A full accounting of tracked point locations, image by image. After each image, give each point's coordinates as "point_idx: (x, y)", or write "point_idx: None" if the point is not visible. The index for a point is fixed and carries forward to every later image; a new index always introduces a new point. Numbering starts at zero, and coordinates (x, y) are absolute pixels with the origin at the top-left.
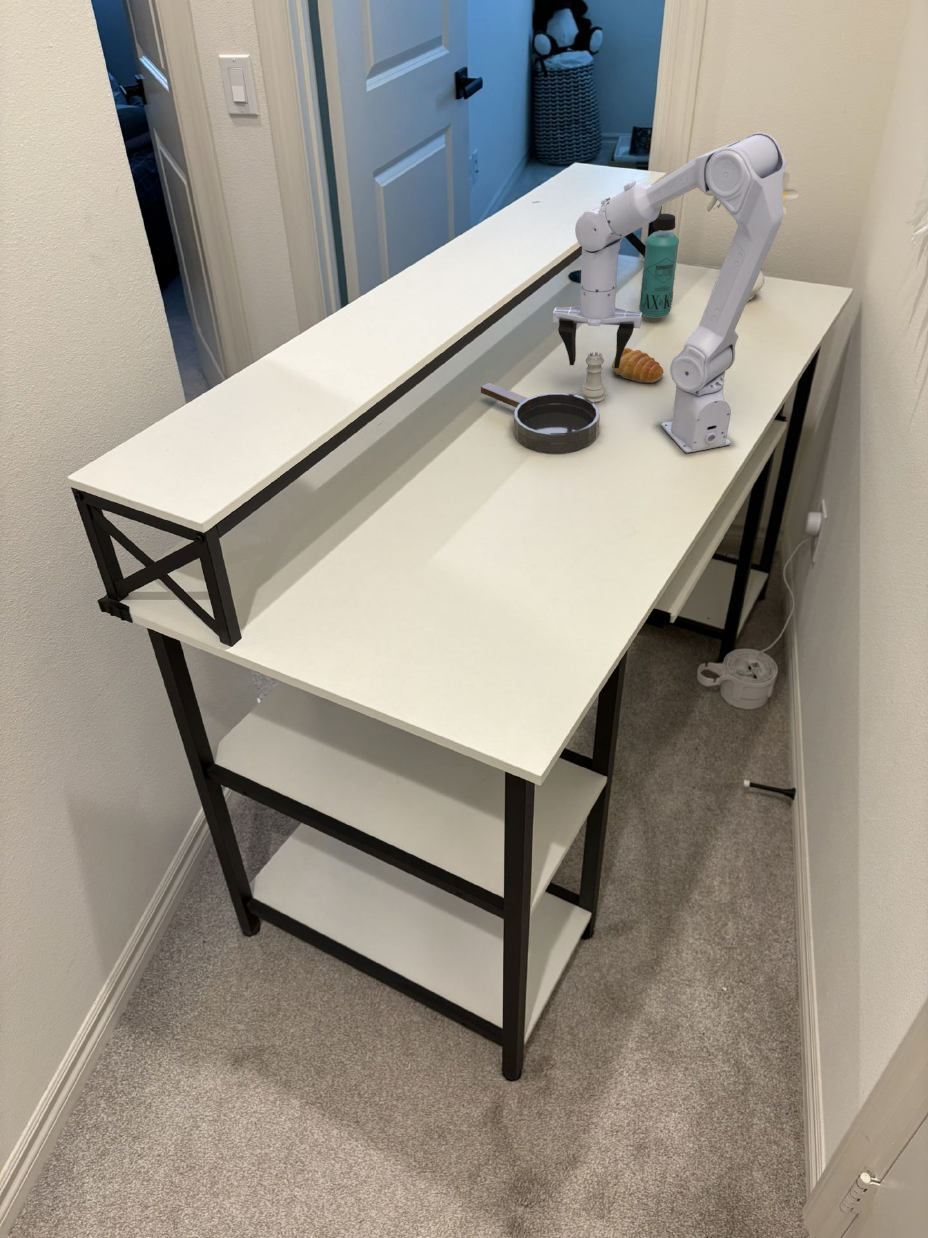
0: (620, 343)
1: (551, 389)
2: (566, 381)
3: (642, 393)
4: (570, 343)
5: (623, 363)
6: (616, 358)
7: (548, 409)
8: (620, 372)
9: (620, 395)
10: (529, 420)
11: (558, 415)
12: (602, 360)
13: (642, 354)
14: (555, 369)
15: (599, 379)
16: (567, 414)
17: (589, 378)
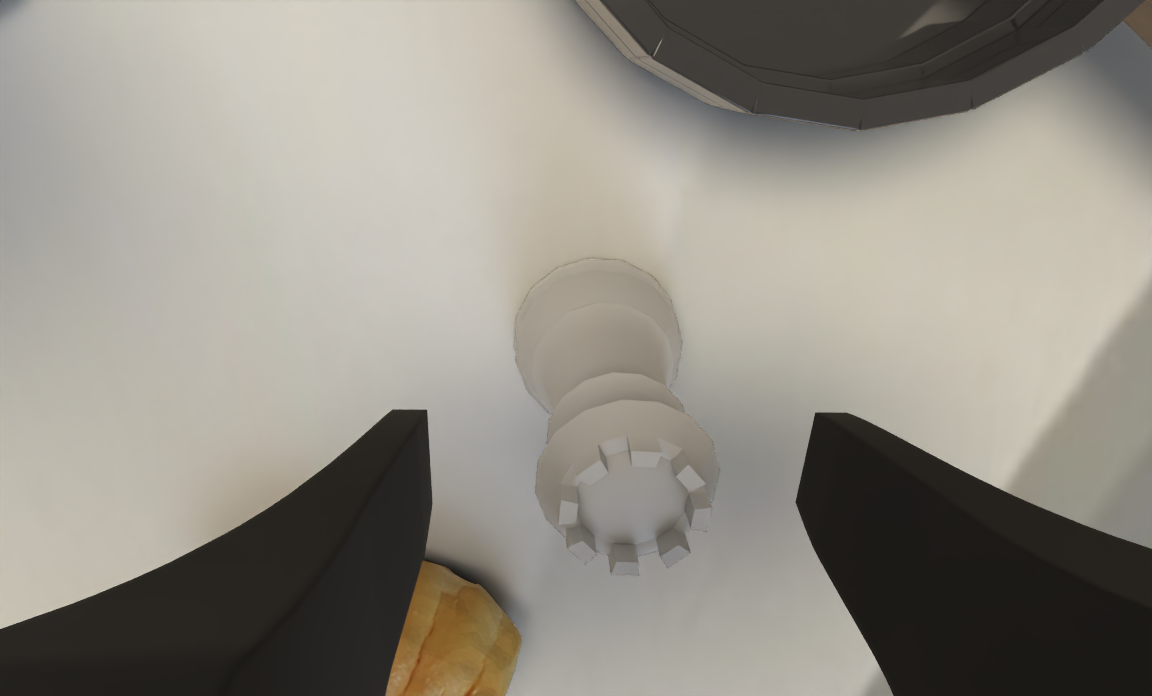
0: (258, 566)
1: (849, 397)
2: (761, 493)
3: (299, 427)
4: (1018, 531)
5: (443, 642)
6: (384, 451)
7: (906, 55)
8: (460, 588)
9: (427, 386)
10: None
11: (821, 19)
12: (551, 472)
13: None
14: (820, 597)
15: (561, 369)
16: (753, 49)
17: (642, 358)
